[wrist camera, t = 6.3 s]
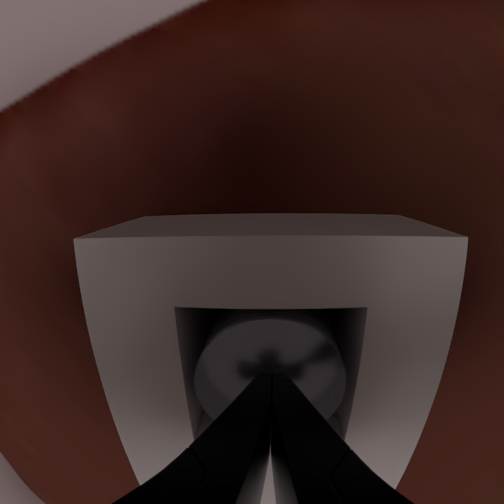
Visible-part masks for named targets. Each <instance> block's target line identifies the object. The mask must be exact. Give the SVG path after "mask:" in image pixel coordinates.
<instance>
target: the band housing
mask: <svg viewBox="0 0 504 504" xmlns="http://www.w3.org/2000/svg"><path fill="white" fill-rule="evenodd" d="M73 240H74V249H75V257H76V264H77V272H78V278H79V284H80V290H81V296H82V302H83V307H84V312H85V317H86V322H87V327H88V331H89V336H90V340H91V344H92V348H93V352H94V356H95V360H96V364H97V368H98V371H99V375H100V378H101V382H102V385H103V389H104V392H105V395H106V398H107V401H108V404H109V408H110V411H111V414H112V416H113V419H114V422H115V425H116V428H117V430H118V433H119V436H120V439H121V441H122V444H123V446H124V449H125V451H126V454H127V456H128V459H129V461H130V463H131V466H132V468H133V470H134V473H135V475H136V477H137V479H138V482H139V484H140V485H142V484H143V483H145V482H146V481H148V480H149V479H150V478H152V477H153V476H154V475H156V474H157V473H159V472H160V471H161V470H163V469H164V468H165V467H166V466H167V465H168V464H170V463H171V462H172V461H173V460H174V459H175V458H176V457H178V456H179V455H180V454H181V453H182V452H183V451H184V450H185V449H186V448H189V445H190V444H191V443H192V442H193V441H194V440H195V439H196V438H197V437H198V436H199V435H200V434H201V433H202V432H203V431H204V430H205V429H206V428H207V427H208V426H209V425H210V424H211V423H212V422H213V421H214V420H213V419H212V418H211V417H210V416H209V415H208V414H207V413H206V411H205V410H204V409H203V407H202V406H201V404H200V402H199V400H198V397H197V395H196V391H195V385H194V376H195V369H196V366H197V363H198V360H199V358H200V356H201V353H202V351H203V348H204V346H205V344H206V341H207V339H208V336H209V334H210V332H211V329H212V327H213V324H214V322H215V320H216V316H215V308H227V309H322V308H329V319H328V322H329V324H330V327H331V330H332V333H333V335H334V338H335V341H336V344H337V346H338V349H339V352H340V355H341V358H342V361H343V364H344V367H345V371H346V389H345V393H344V396H343V399H342V401H341V403H340V405H339V406H338V408H337V410H336V411H335V412H334V413H333V414H332V416H331V417H330V418H328V419H327V420H326V421H327V422H328V423H329V424H330V425H331V426H332V427H333V429H334V430H335V431H336V432H337V433H338V434H339V435H340V436H341V438H342V439H343V440H344V441H345V442H346V443H347V444H348V445H349V447H350V448H351V449H352V450H353V451H354V452H355V453H356V454H357V455H358V456H359V457H360V459H361V460H362V461H363V462H364V463H365V464H366V465H367V466H368V467H369V468H370V469H371V470H372V471H373V472H375V473H376V474H377V475H378V476H379V477H380V478H382V479H383V480H384V481H385V482H386V483H388V484H389V485H390V486H391V487H393V488H394V489H396V487H397V485H398V483H399V481H400V479H401V477H402V475H403V473H404V471H405V469H406V467H407V465H408V463H409V460H410V458H411V456H412V454H413V452H414V449H415V447H416V445H417V442H418V440H419V438H420V435H421V433H422V430H423V428H424V425H425V423H426V420H427V417H428V415H429V412H430V409H431V406H432V404H433V401H434V398H435V395H436V392H437V389H438V386H439V383H440V379H441V376H442V373H443V369H444V366H445V362H446V359H447V355H448V351H449V347H450V343H451V339H452V335H453V331H454V326H455V322H456V317H457V312H458V307H459V302H460V296H461V291H462V284H463V278H464V271H465V263H466V255H467V246H468V237H466V236H463V235H460V234H457V233H454V232H451V231H448V230H445V229H442V228H439V227H436V226H433V225H430V224H427V223H424V222H421V221H417V220H414V219H411V218H407V217H404V216H401V215H384V214H333V213H249V214H197V215H165V216H144V217H141V218H137V219H134V220H131V221H127V222H124V223H121V224H118V225H114V226H111V227H108V228H105V229H102V230H99V231H95V232H92V233H89V234H86V235H83V236H80V237H77V238H74V239H73ZM351 449H350V450H351ZM260 504H276V499H275V490H274V482H273V473H272V464H271V442H270V456H269V462H268V467H267V472H266V477H265V482H264V487H263V492H262V497H261V502H260Z"/></svg>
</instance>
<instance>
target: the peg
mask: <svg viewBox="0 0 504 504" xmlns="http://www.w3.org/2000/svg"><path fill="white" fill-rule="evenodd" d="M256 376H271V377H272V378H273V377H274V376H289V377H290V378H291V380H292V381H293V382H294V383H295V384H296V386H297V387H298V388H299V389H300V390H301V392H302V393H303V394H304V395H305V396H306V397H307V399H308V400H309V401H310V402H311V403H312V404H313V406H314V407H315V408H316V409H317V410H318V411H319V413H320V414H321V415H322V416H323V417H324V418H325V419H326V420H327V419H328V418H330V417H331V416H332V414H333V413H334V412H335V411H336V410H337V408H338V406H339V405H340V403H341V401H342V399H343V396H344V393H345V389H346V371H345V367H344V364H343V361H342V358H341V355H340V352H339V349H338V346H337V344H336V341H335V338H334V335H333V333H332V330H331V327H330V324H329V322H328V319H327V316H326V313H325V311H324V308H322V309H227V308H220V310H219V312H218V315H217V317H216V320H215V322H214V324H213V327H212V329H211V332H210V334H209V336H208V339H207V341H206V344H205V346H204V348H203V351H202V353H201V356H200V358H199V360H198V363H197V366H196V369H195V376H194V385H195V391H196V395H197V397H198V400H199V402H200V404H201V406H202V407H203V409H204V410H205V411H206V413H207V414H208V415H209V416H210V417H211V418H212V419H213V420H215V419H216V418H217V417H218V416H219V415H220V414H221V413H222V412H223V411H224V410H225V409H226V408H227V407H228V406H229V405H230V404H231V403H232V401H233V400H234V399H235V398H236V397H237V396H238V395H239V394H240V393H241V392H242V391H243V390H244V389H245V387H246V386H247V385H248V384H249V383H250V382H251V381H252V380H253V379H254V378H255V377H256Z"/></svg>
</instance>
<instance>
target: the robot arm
mask: <svg viewBox="0 0 504 504" xmlns="http://www.w3.org/2000/svg"><path fill="white" fill-rule="evenodd" d="M270 442H271V464H272V473H273V482H274V490H275V499H276V504H414V503H412V502H411V501H410V500H408V499H407V498H406V497H404V496H403V495H402V494H400V493H399V492H398V491H396V490H395V489H394V488H393V487H391V486H390V485H389V484H388V483H386V482H385V481H384V480H383V479H382V478H380V477H379V476H378V475H377V474H376V473H375V472H373V471H372V470H371V469H370V468H369V467H368V466H367V465H366V464H365V463H364V462H363V461H362V460H361V459H360V457H359V456H358V455H357V454H356V453H355V452H354V451H353V450H352V449H351V448H350V447H349V445H348V444H347V443H346V442H345V441H344V440H343V439H342V438H341V436H340V435H339V434H338V433H337V432H336V431H335V430H334V429H333V427H332V426H331V425H330V424H329V423H328V422H327V421H326V419H325V418H324V417H323V416H322V415H321V414H320V413H319V411H318V410H317V409H316V408H315V407H314V406H313V404H312V403H311V402H310V401H309V400H308V399H307V397H306V396H305V395H304V394H303V393H302V392H301V390H300V389H299V388H298V387H297V386H296V384H295V383H294V382H293V381H292V380H291V378H290V377H289V376H274V377H273V378H272V377H271V376H256V377H255V378H254V379H253V380H252V381H251V382H250V383H249V384H248V385H247V386H246V387H245V389H244V390H243V391H242V392H241V393H240V394H239V395H238V396H237V397H236V398H235V399H234V400H233V401H232V403H231V404H230V405H229V406H228V407H227V408H226V409H225V410H224V411H223V412H222V413H221V414H220V415H219V416H218V417H217V418H216V419H215V420H214V421H213V422H212V423H211V424H210V425H209V426H208V427H207V428H206V429H205V430H204V431H203V432H202V433H201V434H200V435H199V436H198V437H197V438H196V439H195V440H194V441H193V442H192V443H191V444H190V445H189V448H186V449H185V450H184V451H183V452H182V453H181V454H180V455H179V456H178V457H176V458H175V459H174V460H173V461H172V462H171V463H170V464H168V465H167V466H166V467H165V468H164V469H163V470H161V471H160V472H159V473H157V474H156V475H154V476H153V477H152V478H150V479H149V480H148V481H146V482H145V483H143V484H142V485H140V486H139V487H137V488H136V489H134V490H133V491H131V492H129V493H128V494H126V495H125V496H123V497H122V498H120V499H118V500H117V501H115V502H114V503H112V504H260V502H261V497H262V492H263V487H264V482H265V477H266V472H267V467H268V462H269V456H270ZM350 449H351V450H350Z"/></svg>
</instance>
